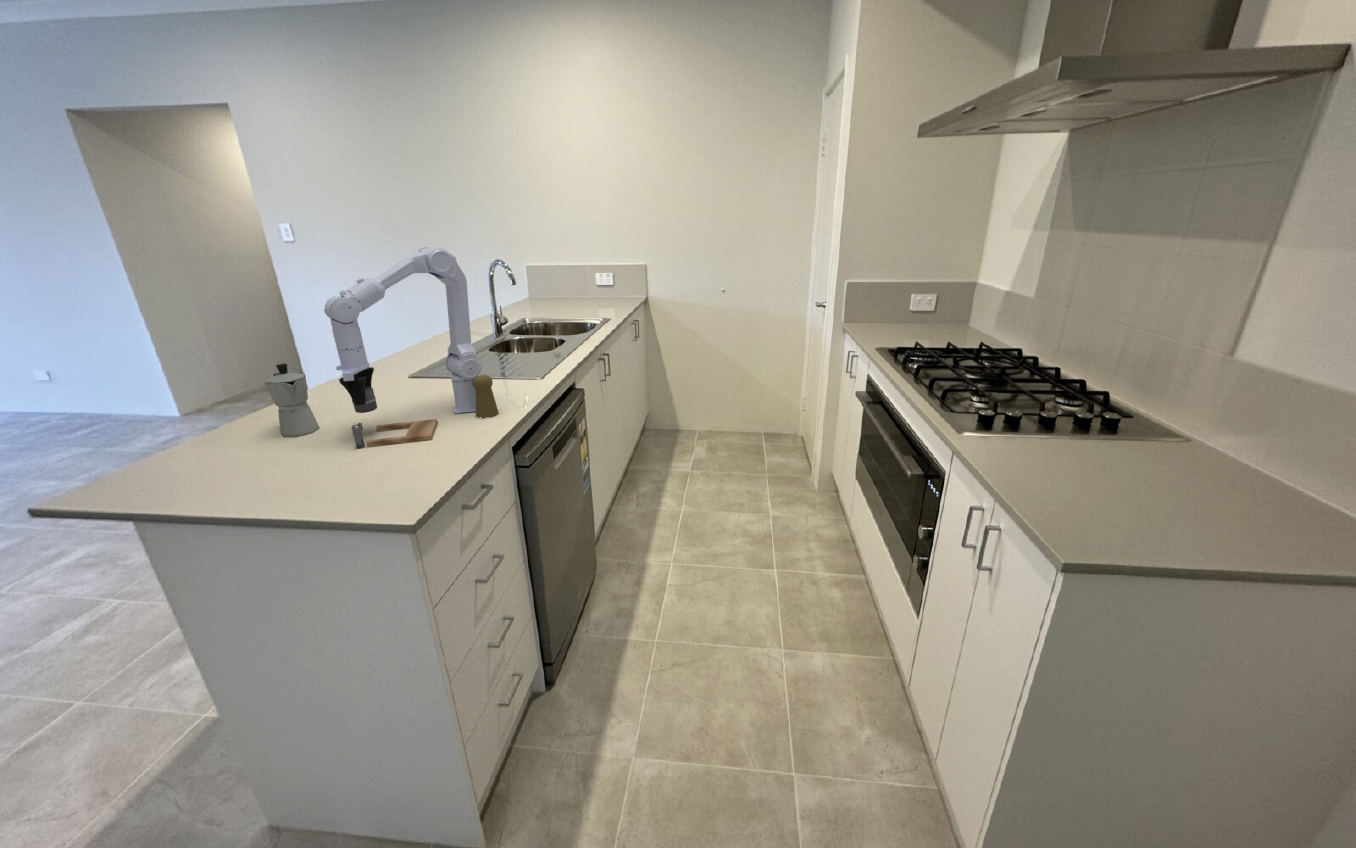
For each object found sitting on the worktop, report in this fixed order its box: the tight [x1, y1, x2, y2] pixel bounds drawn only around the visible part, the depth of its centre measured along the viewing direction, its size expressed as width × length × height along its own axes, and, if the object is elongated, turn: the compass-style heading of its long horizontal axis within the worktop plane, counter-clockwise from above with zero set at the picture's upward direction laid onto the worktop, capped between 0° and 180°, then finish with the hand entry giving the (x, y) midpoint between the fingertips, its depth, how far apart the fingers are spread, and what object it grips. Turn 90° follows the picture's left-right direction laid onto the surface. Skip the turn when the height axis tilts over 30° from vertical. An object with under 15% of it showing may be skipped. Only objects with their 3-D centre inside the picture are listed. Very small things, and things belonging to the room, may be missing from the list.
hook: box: [351, 422, 366, 450], centre depth 133 cm, size 2×5×6 cm, turn 16°
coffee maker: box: [264, 363, 321, 439], centre depth 141 cm, size 15×9×18 cm, turn 47°
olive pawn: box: [472, 374, 499, 419], centre depth 151 cm, size 6×6×11 cm
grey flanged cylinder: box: [351, 386, 378, 414], centre depth 138 cm, size 5×5×5 cm
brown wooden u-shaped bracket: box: [365, 418, 439, 448], centre depth 140 cm, size 14×12×1 cm
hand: (363, 400), depth 138 cm, fingers closed on grey flanged cylinder, 5 cm apart
